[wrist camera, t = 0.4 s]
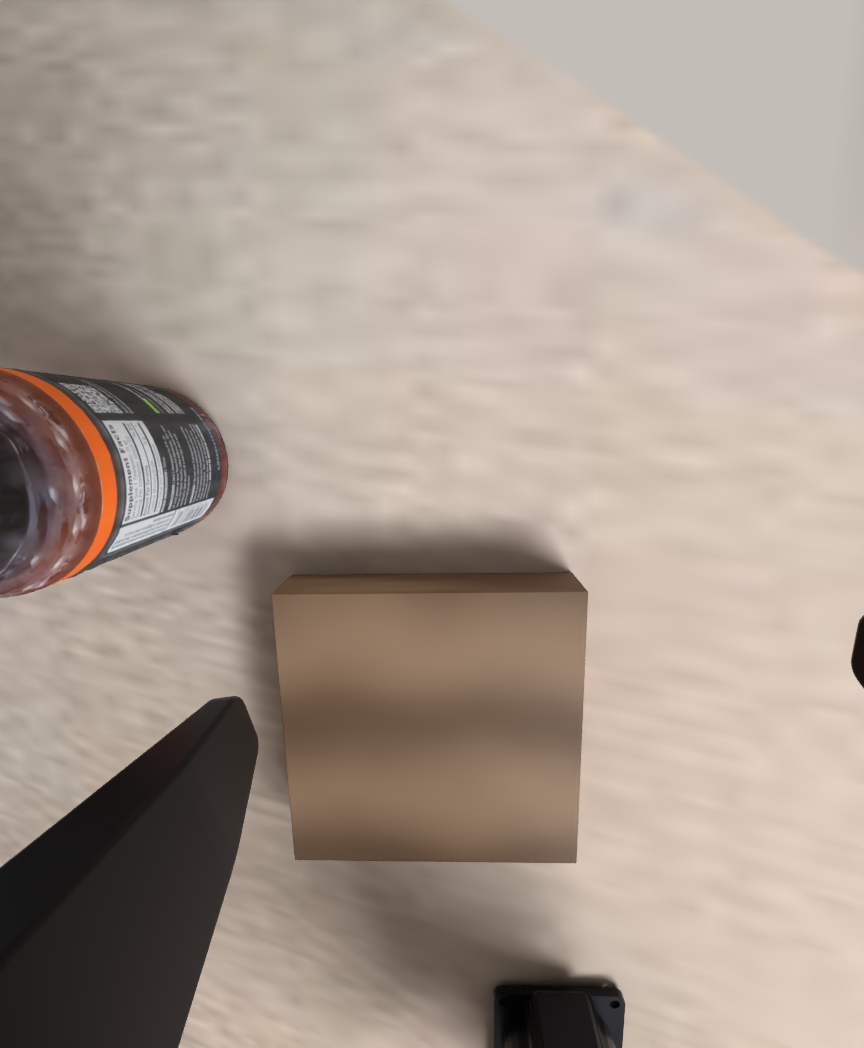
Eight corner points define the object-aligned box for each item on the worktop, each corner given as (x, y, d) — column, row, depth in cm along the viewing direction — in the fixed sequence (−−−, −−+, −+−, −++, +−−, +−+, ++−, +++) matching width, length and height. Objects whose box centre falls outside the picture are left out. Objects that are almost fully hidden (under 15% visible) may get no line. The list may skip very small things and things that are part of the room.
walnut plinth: (562, 816, 23) (576, 863, 21) (310, 815, 24) (295, 859, 21) (571, 572, 21) (587, 591, 18) (292, 575, 21) (271, 594, 19)
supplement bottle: (91, 517, 21) (-300, 620, 10) (96, 375, 20) (-342, 314, 9) (228, 541, 21) (-13, 670, 10) (241, 401, 20) (-17, 371, 9)
